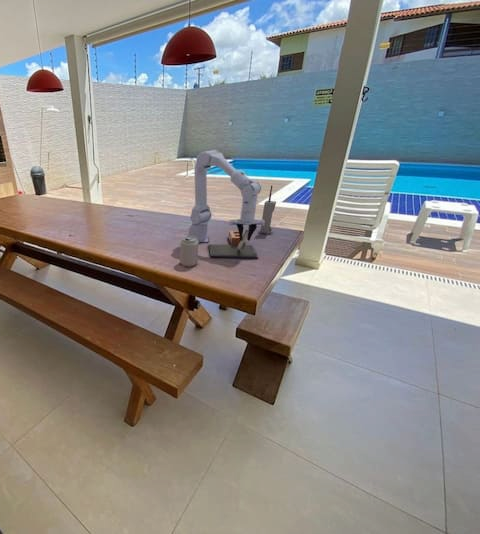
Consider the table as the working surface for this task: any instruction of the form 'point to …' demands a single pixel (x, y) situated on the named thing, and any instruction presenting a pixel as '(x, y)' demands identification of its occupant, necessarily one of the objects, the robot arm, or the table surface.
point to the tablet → (232, 251)
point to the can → (189, 251)
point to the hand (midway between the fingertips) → (244, 240)
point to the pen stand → (235, 237)
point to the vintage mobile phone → (267, 215)
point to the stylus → (243, 239)
